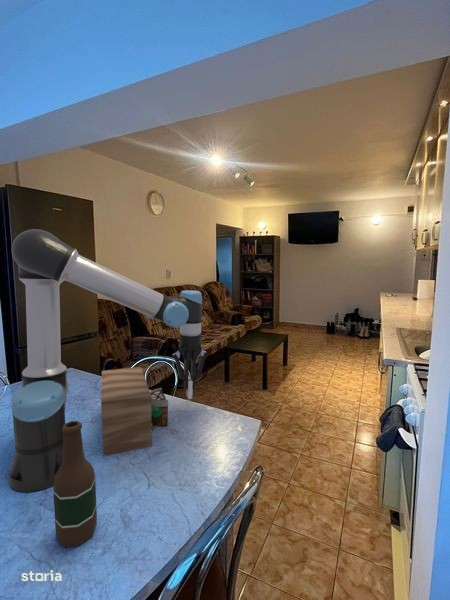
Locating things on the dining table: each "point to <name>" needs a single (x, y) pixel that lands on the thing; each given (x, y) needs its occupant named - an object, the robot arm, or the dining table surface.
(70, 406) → the dining table surface
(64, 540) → the beer bottle
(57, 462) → the robot arm
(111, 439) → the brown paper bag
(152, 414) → the food container
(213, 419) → the dining table surface
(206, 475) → the dining table surface
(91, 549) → the dining table surface
